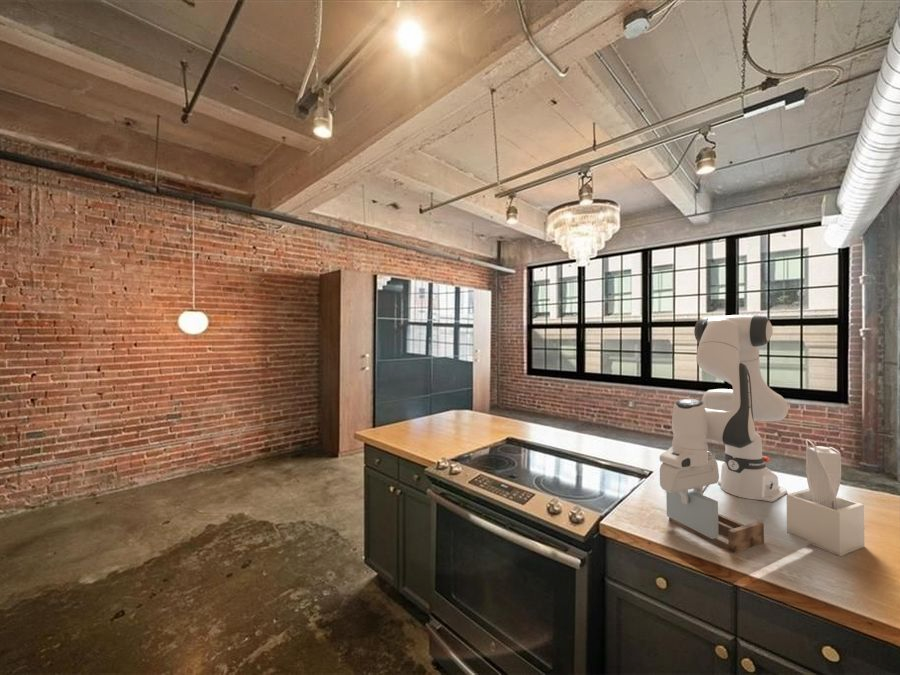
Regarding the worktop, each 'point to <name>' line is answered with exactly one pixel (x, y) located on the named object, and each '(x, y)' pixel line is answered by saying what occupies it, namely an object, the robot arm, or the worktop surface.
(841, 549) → the open white box
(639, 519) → the worktop surface
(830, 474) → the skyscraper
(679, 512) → the pale blue-grey board
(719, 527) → the rack
